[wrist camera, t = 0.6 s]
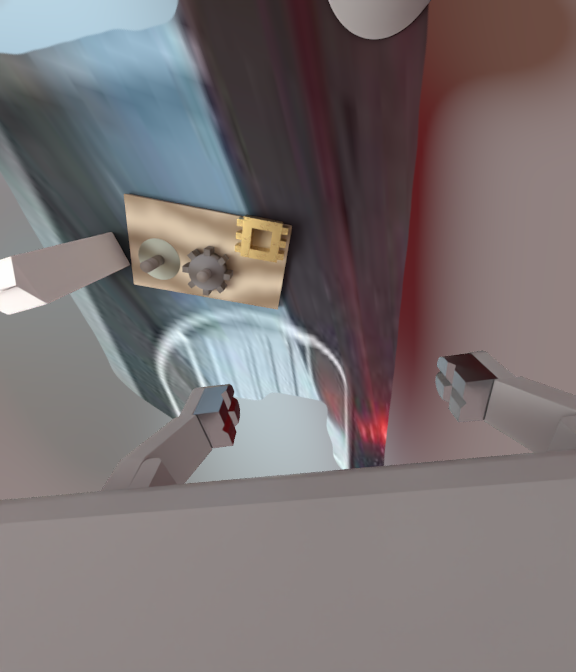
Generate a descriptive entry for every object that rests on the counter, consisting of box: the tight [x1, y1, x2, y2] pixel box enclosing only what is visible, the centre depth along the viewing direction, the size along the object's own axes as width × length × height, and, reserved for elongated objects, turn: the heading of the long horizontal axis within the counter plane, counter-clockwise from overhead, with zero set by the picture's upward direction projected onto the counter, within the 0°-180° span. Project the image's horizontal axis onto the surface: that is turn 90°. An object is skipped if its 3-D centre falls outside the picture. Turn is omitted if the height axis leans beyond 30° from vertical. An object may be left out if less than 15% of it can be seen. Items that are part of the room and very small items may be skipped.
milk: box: [0, 232, 130, 315], centre depth 38 cm, size 6×6×22 cm
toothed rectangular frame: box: [235, 215, 289, 263], centre depth 43 cm, size 6×8×3 cm
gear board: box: [124, 194, 292, 309], centre depth 45 cm, size 15×27×6 cm, turn 80°
